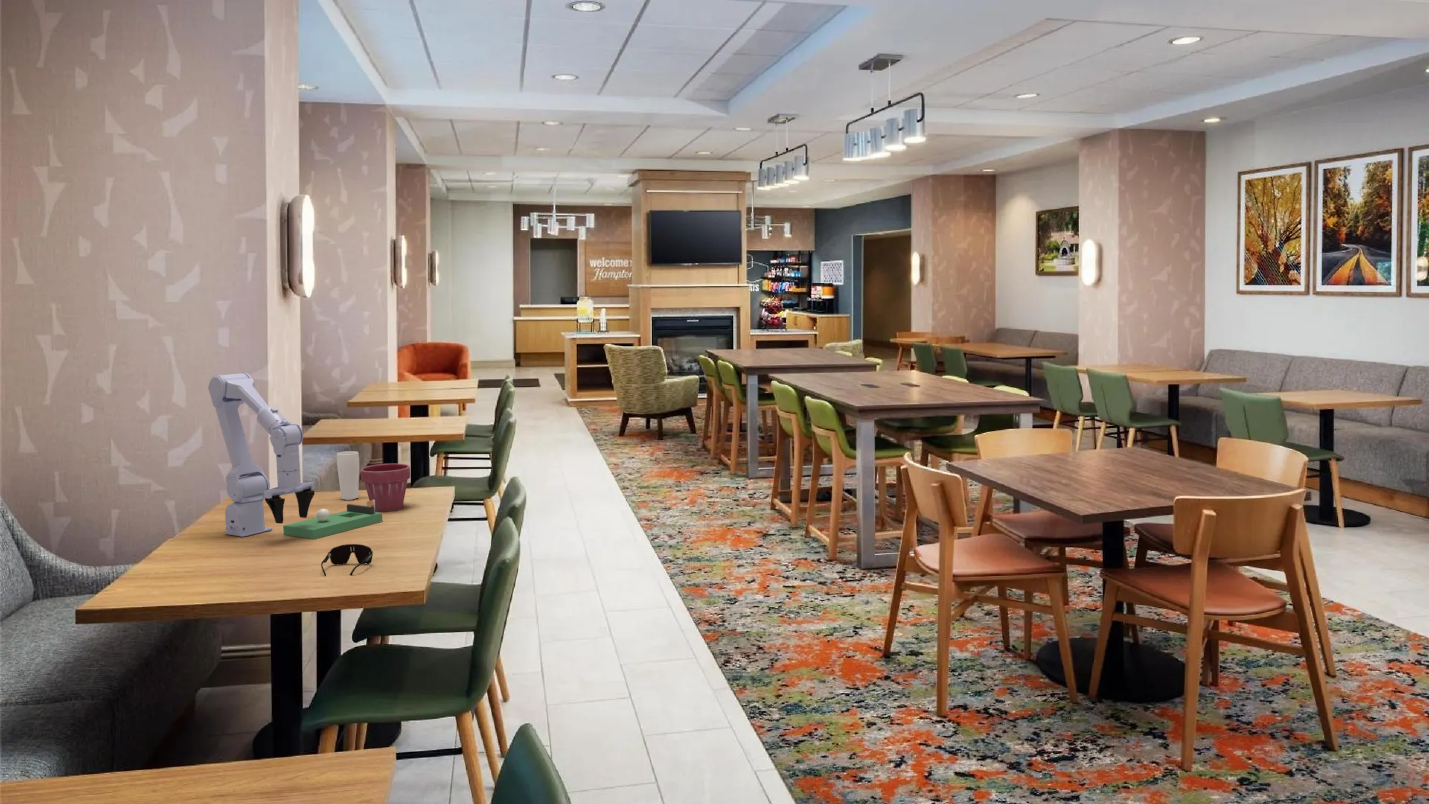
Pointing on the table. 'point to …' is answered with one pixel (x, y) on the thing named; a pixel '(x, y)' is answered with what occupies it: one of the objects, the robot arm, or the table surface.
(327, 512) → the ball
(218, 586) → the table surface
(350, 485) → the drinking glass
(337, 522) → the green board
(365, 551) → the sunglasses
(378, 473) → the plant pot
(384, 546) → the table surface
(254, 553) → the table surface
